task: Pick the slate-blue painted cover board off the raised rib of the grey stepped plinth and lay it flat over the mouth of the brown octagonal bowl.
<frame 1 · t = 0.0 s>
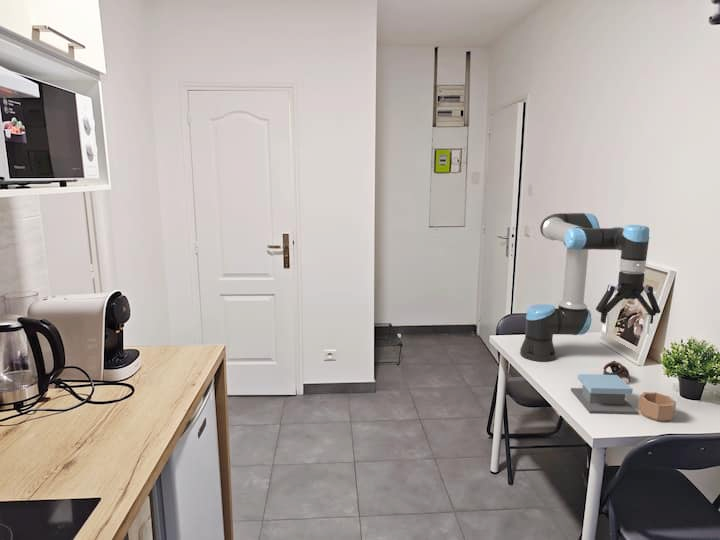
hand: (625, 332, 166), 28 cm above the table, tool pointing down, fingers open, 13 cm apart
brown openwork dome: (615, 379, 195), on the table
grey stepped plinth: (602, 401, 176), on the table
cover sheet: (603, 386, 174), point 6 cm above the table, touching grey stepped plinth
brown octagonal bowl: (655, 415, 166), on the table
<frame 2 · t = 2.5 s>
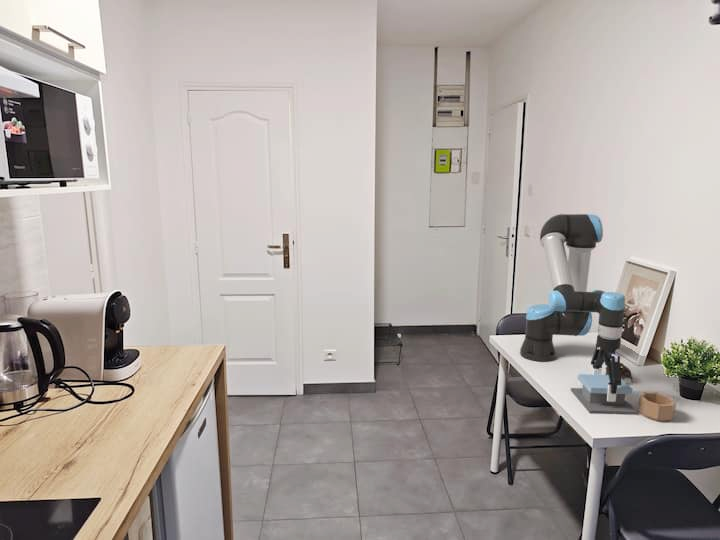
hand: (603, 393, 175), 3 cm above the table, tool pointing down, fingers closed on cover sheet, 12 cm apart
cover sheet: (603, 386, 174), point 6 cm above the table, touching gripper, grey stepped plinth
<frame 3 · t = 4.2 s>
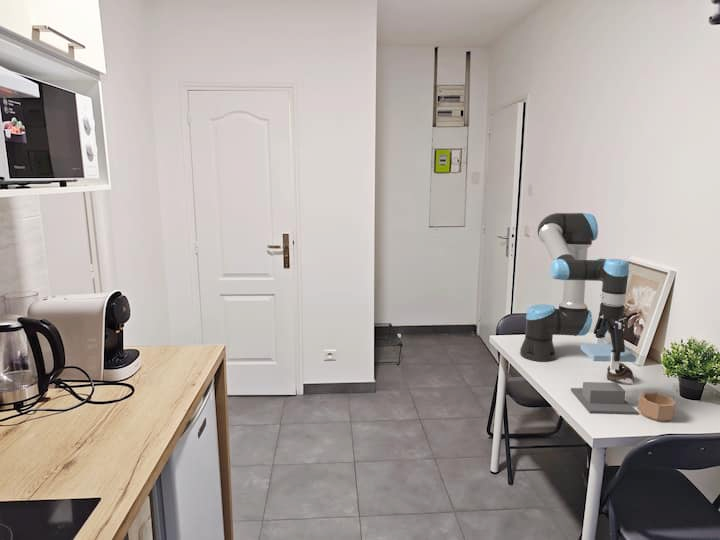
hand: (606, 361, 173), 15 cm above the table, tool pointing down, fingers closed on cover sheet, 12 cm apart
cover sheet: (606, 355, 172), point 18 cm above the table, touching gripper
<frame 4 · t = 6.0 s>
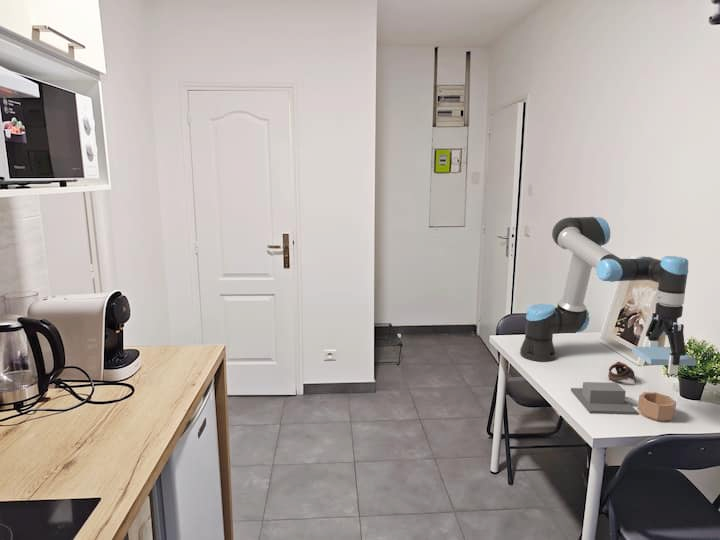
hand: (661, 366, 162), 18 cm above the table, tool pointing down, fingers closed on cover sheet, 12 cm apart
cover sheet: (662, 358, 162), point 21 cm above the table, touching gripper
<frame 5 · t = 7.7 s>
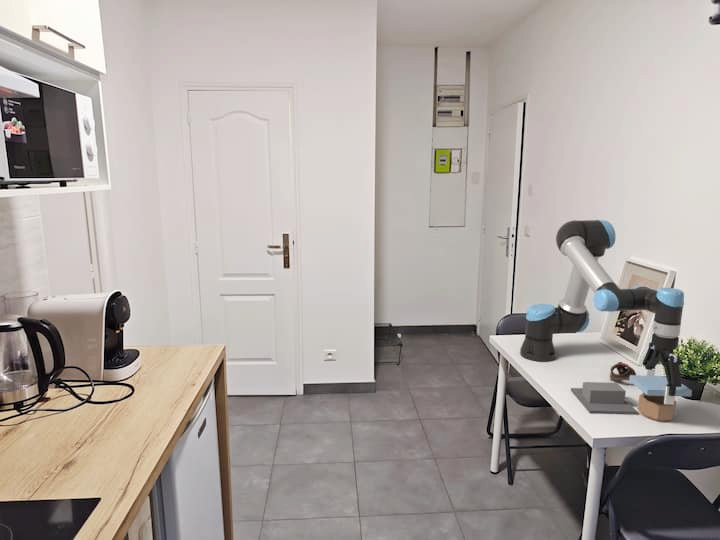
hand: (658, 395, 164), 7 cm above the table, tool pointing down, fingers closed on cover sheet, 12 cm apart
cover sheet: (659, 388, 164), point 10 cm above the table, touching gripper
when the fingers open (4 cm above the table, at t = 9.5 s): cover sheet stays where it is, resting on brown octagonal bowl.
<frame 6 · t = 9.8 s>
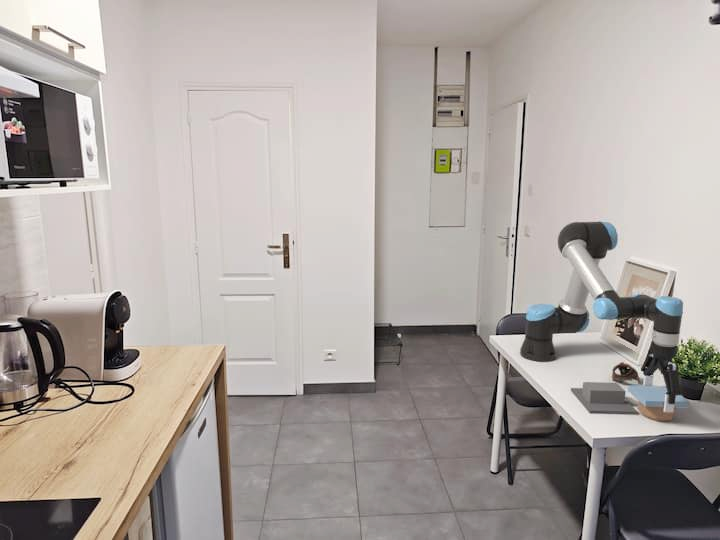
hand: (657, 402, 165), 5 cm above the table, tool pointing down, fingers open, 13 cm apart
cover sheet: (657, 398, 165), point 6 cm above the table, touching brown octagonal bowl
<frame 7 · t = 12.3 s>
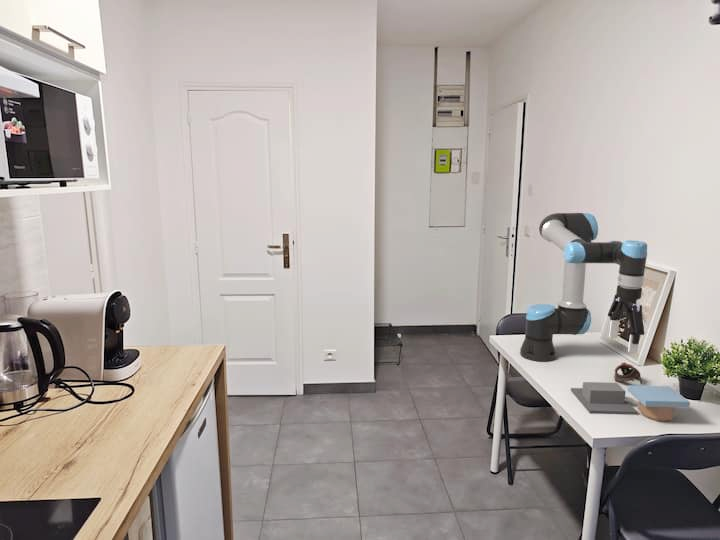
hand: (622, 344, 170), 22 cm above the table, tool pointing down, fingers open, 13 cm apart
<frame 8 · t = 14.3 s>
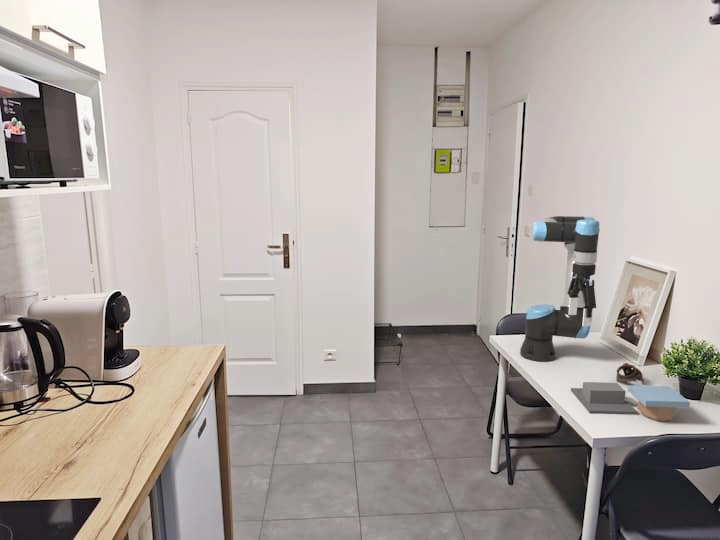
hand: (579, 320, 177), 29 cm above the table, tool pointing down, fingers open, 13 cm apart
at the end: cover sheet 0.1 cm off-centre on the brown octagonal bowl, point 6.0 cm above the brown octagonal bowl's base; cover sheet touching brown octagonal bowl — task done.
